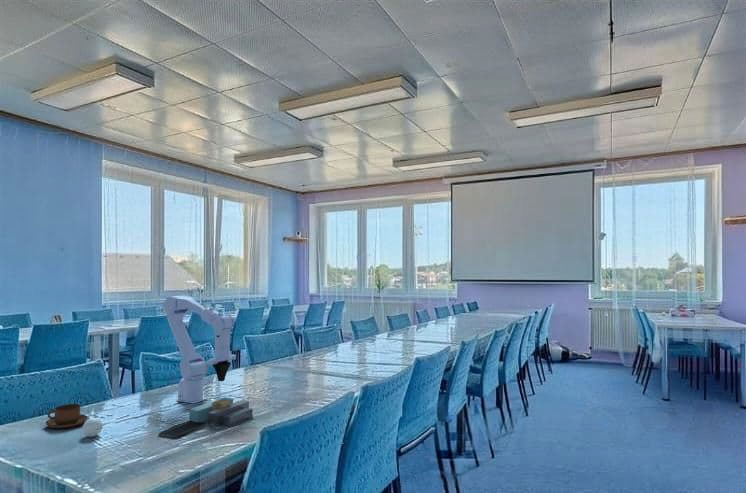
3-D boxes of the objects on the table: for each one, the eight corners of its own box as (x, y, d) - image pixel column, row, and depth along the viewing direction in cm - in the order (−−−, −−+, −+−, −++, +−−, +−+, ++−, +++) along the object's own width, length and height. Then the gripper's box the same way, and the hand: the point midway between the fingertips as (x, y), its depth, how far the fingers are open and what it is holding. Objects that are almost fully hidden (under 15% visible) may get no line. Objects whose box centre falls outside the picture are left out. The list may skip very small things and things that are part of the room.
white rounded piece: (87, 440, 149) (88, 422, 149) (78, 437, 152) (79, 419, 152) (112, 433, 155) (113, 416, 155) (102, 430, 158) (103, 413, 158)
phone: (156, 433, 154) (189, 420, 168) (156, 437, 154) (189, 423, 168) (176, 436, 151) (208, 422, 165) (176, 440, 151) (208, 426, 165)
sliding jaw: (189, 422, 168) (189, 409, 168) (224, 409, 184) (224, 397, 184) (197, 424, 166) (198, 410, 166) (232, 410, 182) (233, 398, 183)
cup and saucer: (43, 433, 155) (44, 413, 155) (48, 422, 166) (49, 404, 166) (86, 428, 161) (87, 409, 161) (88, 418, 171) (89, 400, 172)
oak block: (211, 419, 172) (212, 402, 172) (220, 415, 176) (220, 399, 177) (221, 420, 170) (221, 403, 171) (229, 417, 174) (230, 400, 175)
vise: (207, 425, 164) (208, 412, 164) (242, 412, 181) (242, 400, 181) (224, 428, 161) (224, 415, 162) (257, 414, 178) (257, 402, 178)
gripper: (217, 349, 183) (216, 385, 182) (242, 344, 196) (241, 378, 195) (203, 348, 186) (201, 383, 185) (228, 343, 199) (227, 376, 198)
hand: (221, 380), depth 190 cm, fingers closed
